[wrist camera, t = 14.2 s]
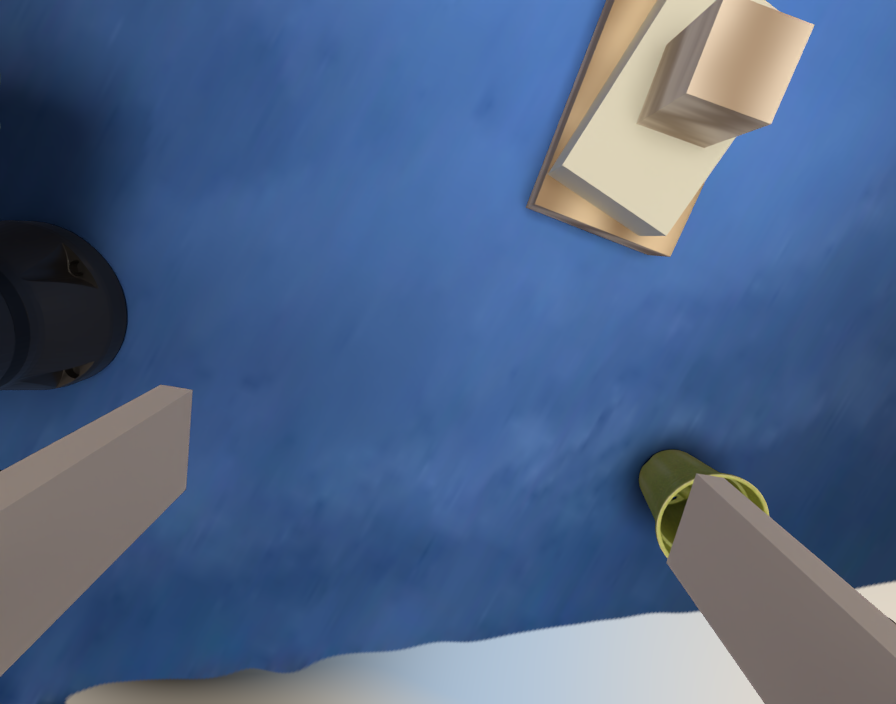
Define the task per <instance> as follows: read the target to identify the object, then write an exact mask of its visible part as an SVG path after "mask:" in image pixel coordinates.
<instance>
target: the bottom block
mask: <svg viewBox="0 0 896 704" xmlns="http://www.w3.org/2000/svg"><path fill="white" fill-rule="evenodd" d="M656 2H657V0H606V3H605V5H604V8H603V10H602V13H601V15H600V18H599V21H598V23H597V26H596V28H595V31H594V33H593V36H592V39H591V41H590V44H589V46H588V49H587V51H586V54H585V57H584V59H583V62H582V64H581V67H580V70H579V72H578V75H577V77H576V80H575V82H574V85H573V88H572V90H571V93H570V95H569V98H568V100H567V103H566V106H565V108H564V111H563V113H562V116H561V118H560V121H559V124H558V126H557V129H556V131H555V134H554V136H553V139H552V142H551V144H550V147H549V149H548V152H547V154H546V157H545V160H544V162H543V165H542V167H541V170H540V172H539V175H538V178H537V180H536V183H535V185H534V188H533V190H532V193H531V196H530V198H529V201H528V203H527V206H526V208H529V209H531V210H534V211H536V212H539V213H541V214H544V215H547V216H549V217H552V218H554V219H557V220H559V221H562V222H565V223H567V224H570V225H572V226H575V227H577V228H580V229H583V230H585V231H588V232H590V233H593V234H595V235H598V236H601V237H603V238H606V239H608V240H611V241H613V242H616V243H619V244H621V245H624V246H626V247H629V248H631V249H634V250H637V251H639V252H642V253H644V254H647V255H655V256H667V257H670V256H671V254H672V252H673V250H674V247H675V245H676V243H677V241H678V239H679V237H680V235H681V232H682V230H683V228H684V226H685V224H686V222H687V219H688V217H689V215H690V213H691V211H692V209H693V207H694V204H695V202H696V200H697V198H698V196H699V194H700V191H701V189H702V187H703V185H704V183H705V182H704V183H703V184H702V186H701V187H700V189H699V190H698V192H697V193H696V194H695V196H694V197H693V199H692V200H691V202H690V203H689V204H688V206H687V207H686V209H685V210H684V211H683V213H682V214H681V216H680V217H679V219H678V220H677V221H676V223H675V224H674V226H673V227H672V229H671V230H670V231H669V233H668V234H667V236H638V235H637V234H635V233H634V232H632V231H631V230H629V229H628V228H626V227H625V226H623V225H622V224H620V223H619V222H617V221H616V220H614V219H613V218H612V217H610V216H609V215H607V214H606V213H604V212H603V211H601V210H600V209H598V208H597V207H595V206H594V205H592V204H591V203H589V202H588V201H586V200H585V199H583V198H582V197H580V196H579V195H577V194H576V193H574V192H573V191H571V190H570V189H569V188H567V187H566V186H564V185H563V184H561V183H560V182H558V181H557V180H555V179H554V178H552V177H551V176H549V175H548V173H549V171H550V170H551V168H552V167H553V165H554V163H555V162H556V160H557V159H558V157H559V156H560V154H561V152H562V151H563V149H564V148H565V146H566V144H567V143H568V141H569V140H570V138H571V136H572V135H573V133H574V132H575V130H576V129H577V127H578V125H579V124H580V122H581V121H582V119H583V117H584V116H585V114H586V113H587V111H588V109H589V108H590V106H591V105H592V103H593V102H594V100H595V98H596V97H597V95H598V94H599V92H600V90H601V89H602V87H603V86H604V84H605V82H606V81H607V79H608V78H609V76H610V75H611V73H612V71H613V70H614V68H615V67H616V65H617V63H618V62H619V60H620V59H621V57H622V56H623V54H624V52H625V51H626V49H627V48H628V46H629V44H630V43H631V41H632V40H633V38H634V36H635V35H636V33H637V32H638V30H639V29H640V27H641V25H642V24H643V22H644V21H645V19H646V17H647V16H648V14H649V13H650V11H651V9H652V8H653V6H654V5H655V3H656ZM705 181H706V180H705Z"/></svg>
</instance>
